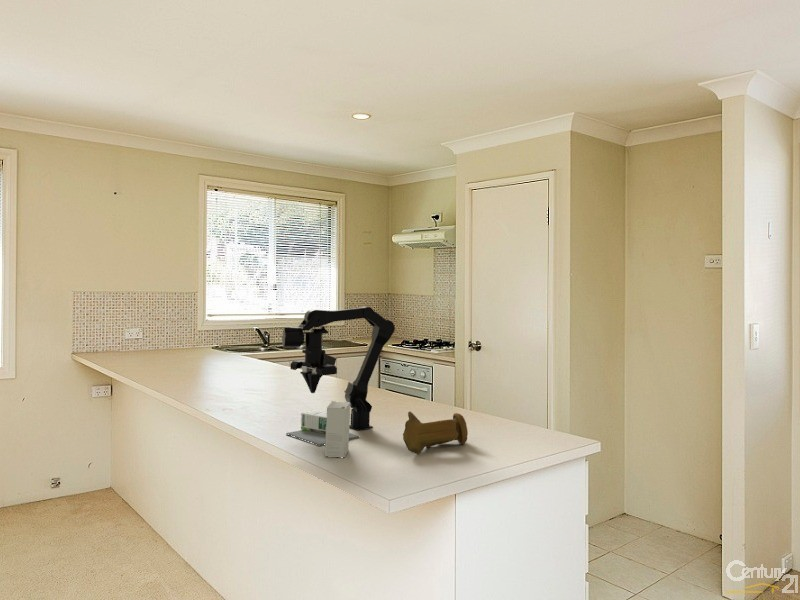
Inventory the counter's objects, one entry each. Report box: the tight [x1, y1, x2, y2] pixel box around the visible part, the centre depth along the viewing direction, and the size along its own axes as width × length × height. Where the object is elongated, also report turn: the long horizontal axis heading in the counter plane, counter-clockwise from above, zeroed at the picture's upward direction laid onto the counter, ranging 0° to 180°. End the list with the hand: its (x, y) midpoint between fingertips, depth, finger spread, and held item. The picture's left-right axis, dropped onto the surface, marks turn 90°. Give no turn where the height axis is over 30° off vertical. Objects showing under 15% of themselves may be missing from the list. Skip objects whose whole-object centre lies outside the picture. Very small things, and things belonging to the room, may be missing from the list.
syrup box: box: [300, 409, 327, 434], centre depth 197 cm, size 6×6×14 cm
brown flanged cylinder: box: [402, 411, 469, 455], centre depth 182 cm, size 18×13×22 cm
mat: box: [285, 429, 360, 446], centre depth 192 cm, size 18×16×1 cm
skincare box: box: [324, 400, 351, 458], centre depth 172 cm, size 8×6×15 cm
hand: (312, 393), depth 199 cm, fingers closed
